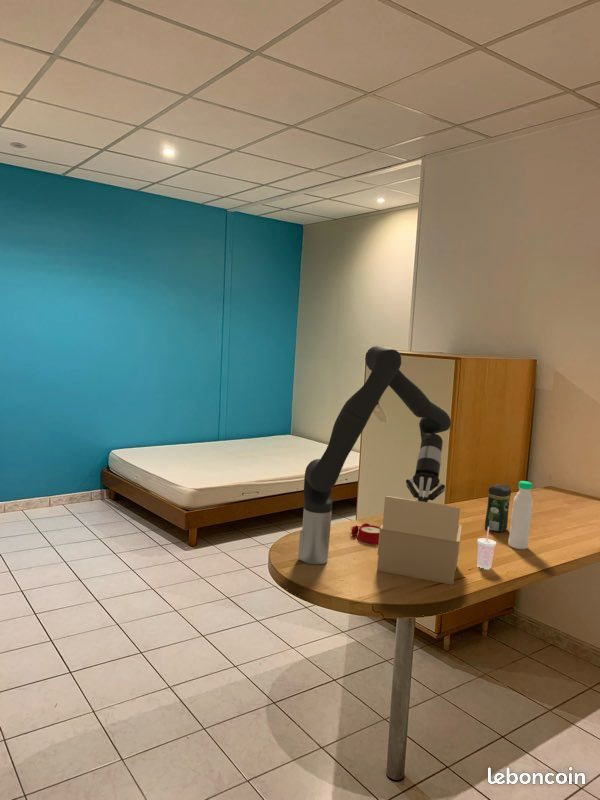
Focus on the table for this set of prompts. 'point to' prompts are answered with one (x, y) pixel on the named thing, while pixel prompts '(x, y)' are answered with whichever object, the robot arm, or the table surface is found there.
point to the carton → (418, 555)
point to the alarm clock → (367, 533)
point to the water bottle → (521, 517)
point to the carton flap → (421, 518)
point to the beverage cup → (485, 552)
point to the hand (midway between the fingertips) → (421, 509)
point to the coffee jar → (498, 507)
